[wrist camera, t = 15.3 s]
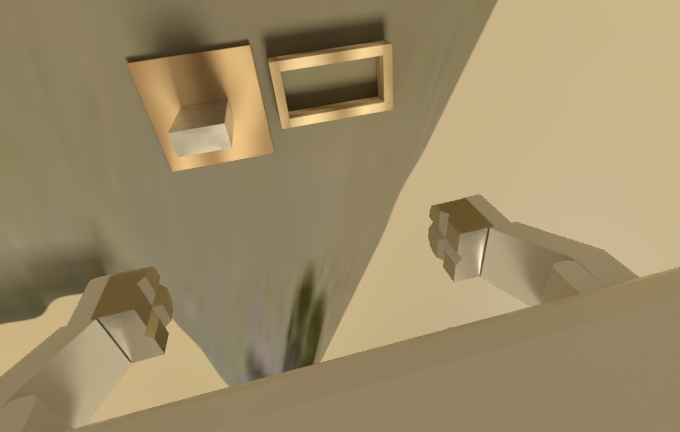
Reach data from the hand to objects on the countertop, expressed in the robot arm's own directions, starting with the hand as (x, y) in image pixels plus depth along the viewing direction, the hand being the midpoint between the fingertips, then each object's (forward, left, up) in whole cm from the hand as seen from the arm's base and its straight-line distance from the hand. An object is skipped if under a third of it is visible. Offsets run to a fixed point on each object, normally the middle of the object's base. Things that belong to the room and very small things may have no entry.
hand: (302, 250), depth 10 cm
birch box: (+7, -4, -33) cm, 34 cm away
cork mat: (-7, -5, -33) cm, 34 cm away
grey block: (-7, -5, -32) cm, 34 cm away
